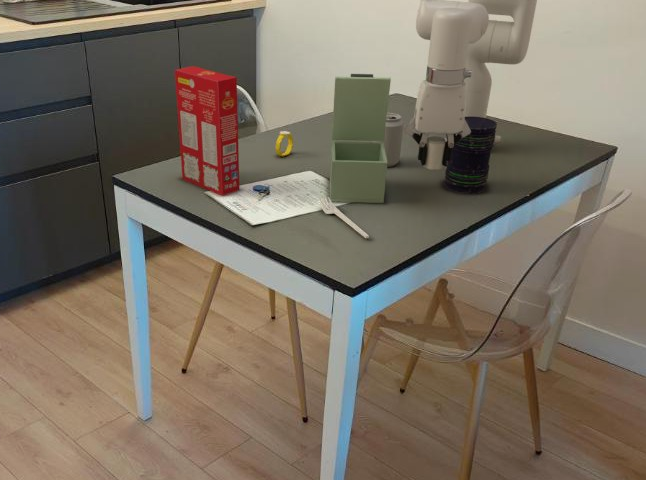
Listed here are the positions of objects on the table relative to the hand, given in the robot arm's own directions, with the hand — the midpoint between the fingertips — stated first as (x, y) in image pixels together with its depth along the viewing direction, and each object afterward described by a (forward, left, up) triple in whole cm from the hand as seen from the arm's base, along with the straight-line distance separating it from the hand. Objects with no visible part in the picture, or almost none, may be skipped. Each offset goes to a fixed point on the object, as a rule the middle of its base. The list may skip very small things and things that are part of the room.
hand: (433, 162), depth 153 cm
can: (+8, -26, -9) cm, 28 cm away
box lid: (+16, -11, +8) cm, 21 cm away
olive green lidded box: (+16, -6, -9) cm, 19 cm away
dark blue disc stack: (-10, -11, -9) cm, 17 cm away
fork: (+19, +12, -9) cm, 25 cm away
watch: (+34, -30, -9) cm, 46 cm away
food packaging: (+51, -7, -9) cm, 52 cm away
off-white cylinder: (0, 0, -1) cm, 1 cm away
